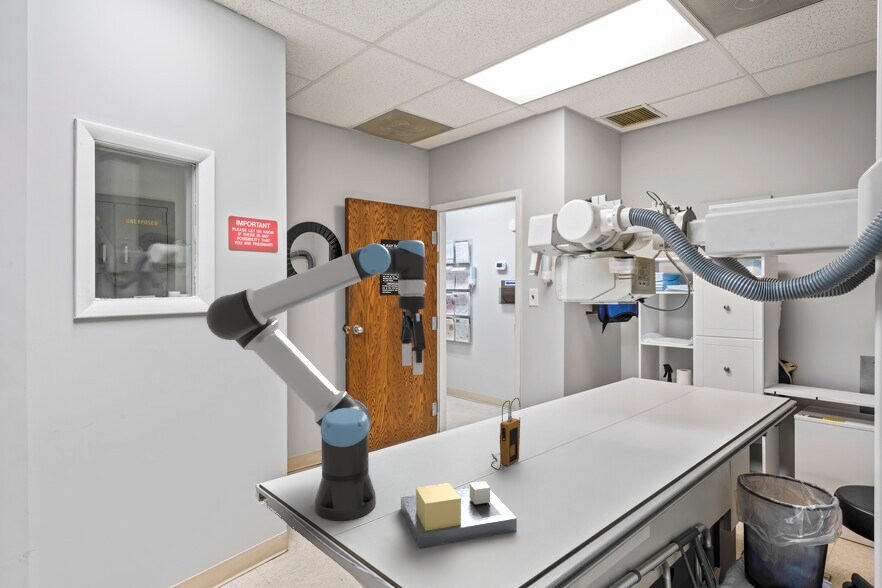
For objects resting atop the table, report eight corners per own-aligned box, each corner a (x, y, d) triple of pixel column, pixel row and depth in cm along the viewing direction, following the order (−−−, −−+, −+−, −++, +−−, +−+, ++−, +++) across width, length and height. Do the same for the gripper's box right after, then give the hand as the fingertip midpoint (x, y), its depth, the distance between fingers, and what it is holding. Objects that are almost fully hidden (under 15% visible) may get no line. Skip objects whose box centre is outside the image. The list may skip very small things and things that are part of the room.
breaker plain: (474, 504, 113) (474, 489, 113) (469, 497, 116) (469, 483, 116) (490, 501, 114) (490, 487, 114) (484, 495, 118) (484, 481, 117)
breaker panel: (419, 548, 101) (419, 534, 100) (401, 509, 118) (400, 497, 118) (516, 531, 107) (516, 518, 107) (486, 496, 125) (486, 484, 124)
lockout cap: (425, 530, 102) (425, 503, 102) (416, 512, 110) (415, 487, 110) (461, 524, 104) (460, 498, 104) (449, 507, 112) (449, 482, 112)
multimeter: (499, 449, 159) (499, 390, 158) (525, 456, 152) (525, 395, 152) (473, 462, 147) (473, 399, 146) (501, 471, 141) (501, 404, 140)
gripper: (437, 296, 122) (437, 377, 123) (414, 293, 146) (414, 361, 147) (409, 297, 120) (409, 379, 121) (390, 294, 144) (390, 362, 145)
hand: (412, 369), depth 134 cm, fingers open, 13 cm apart
